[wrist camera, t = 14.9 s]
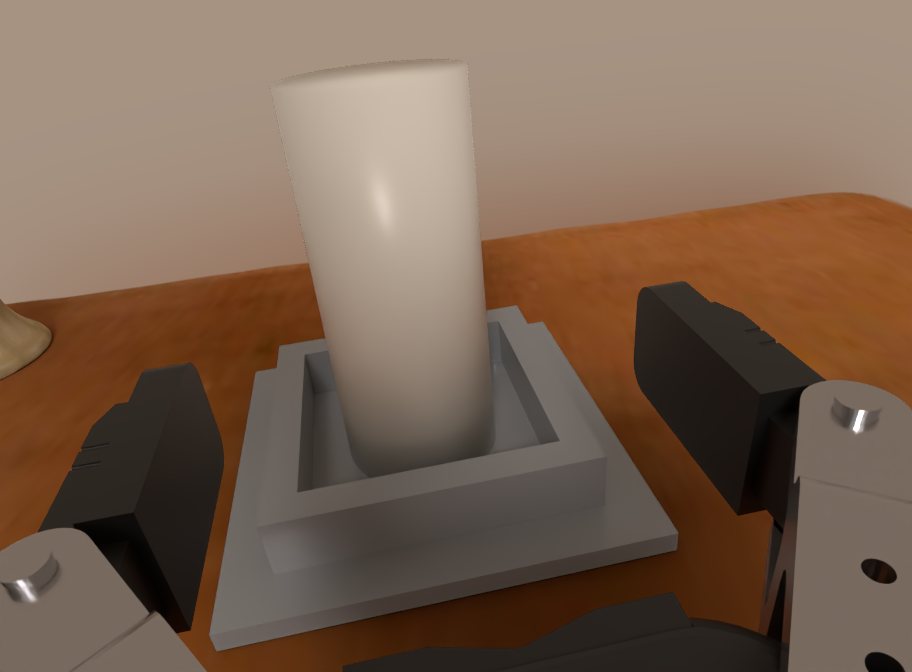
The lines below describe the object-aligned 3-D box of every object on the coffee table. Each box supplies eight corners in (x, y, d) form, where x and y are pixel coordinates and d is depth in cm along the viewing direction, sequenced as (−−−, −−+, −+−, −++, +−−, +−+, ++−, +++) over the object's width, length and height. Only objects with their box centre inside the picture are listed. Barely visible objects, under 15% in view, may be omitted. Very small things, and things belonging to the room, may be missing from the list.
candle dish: (216, 651, 19) (186, 586, 18) (259, 384, 32) (244, 334, 31) (676, 550, 21) (684, 482, 20) (543, 334, 34) (541, 284, 32)
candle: (352, 500, 23) (259, 100, 16) (349, 407, 28) (278, 74, 22) (510, 470, 24) (486, 73, 17) (479, 384, 29) (450, 54, 22)
